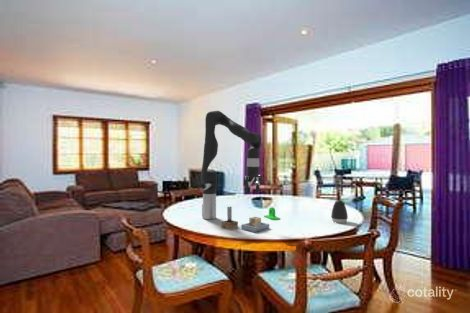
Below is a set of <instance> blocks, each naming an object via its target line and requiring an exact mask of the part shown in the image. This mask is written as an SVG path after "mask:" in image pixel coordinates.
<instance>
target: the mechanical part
mask: <svg viewBox="0 0 470 313" xmlns="http://www.w3.org/2000/svg"><path fill="white" fill-rule="evenodd" d="M263 217H264V218H266V219H268V220H271V221H277V220H281V218H280V217H278V216H277V215H276V209H275V207H271V206H270V207H269V208H268V214H266V215H263Z"/></svg>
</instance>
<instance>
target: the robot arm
mask: <svg viewBox="0 0 470 313" xmlns="http://www.w3.org/2000/svg"><path fill="white" fill-rule="evenodd" d="M204 125H205V132H204V133H205V134H204V145H203V158H202V166H201V172H200V183H201V184H203V185H205V184H206V185H208V184H209V186H207V187H206V188H203V190H202V203H201V218H202V219H205V220H214V219H217V181H218V180H217V179H218V175H217V171H216V170H213V169H212V170H210V169H209V167H210V164H211V163H212V162H213V161H214V159H216V157H217V156H218V151H219V150H218V147H219V143H218V139H217V137H216V134H215V133H216V132H215V131H216V126H218V125H220V126H224V127H225V128H226V129H228V131H229V132H230V133H231V134H232V135H234V136H236V137H238V138H240V139H241V140H242V141H244V142H245V143H247V144H249V145H250V147H249V148H248V149H247V152H246V154H247V155H246V156H247V159H246V174H247V175H243V186H244V187H245V189H246V190H245V191H246V192H245V193H246V194H251V185H252V184H253V183H254V184H255V192H257V193H259V192H260V188H261V187H260V186H261V185H263V175H262V174H260V149H261V145H262V137H261V135H260V134H259V133H257V132H252V131H249V129H248V128H246V127H244V126H243V125H241V124H239V123H237V122H236V121H234V120H232V119H231V118H229V117H228V116H227V115H226V114H224V113H223V112H221V110H211V111H207V113H206V114H205V124H204ZM208 169H209V170H208Z"/></svg>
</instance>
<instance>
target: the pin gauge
mask: <svg viewBox="0 0 470 313" xmlns="http://www.w3.org/2000/svg"><path fill="white" fill-rule="evenodd" d="M226 209H227V211H226V212H227V218H226V219H227V220H226V221H227V222H229V223H230V222H232V220H233V219H232V218H233V217H232V216H233V214H232V212H233V209H232V206H227V207H226Z"/></svg>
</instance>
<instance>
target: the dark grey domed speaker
mask: <svg viewBox="0 0 470 313" xmlns="http://www.w3.org/2000/svg"><path fill="white" fill-rule="evenodd" d="M345 204H346V203H345V202H344V201H343V200H340V199H337V200H336V201H335V202H334V204H333V206H332V209H331V216H330V217H331V220H332V221H333V223H335V222H336V224H345V223H346V222H347V220H348V219H349V217H348V216H349V214H348V211H347V207H346V205H345Z"/></svg>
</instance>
